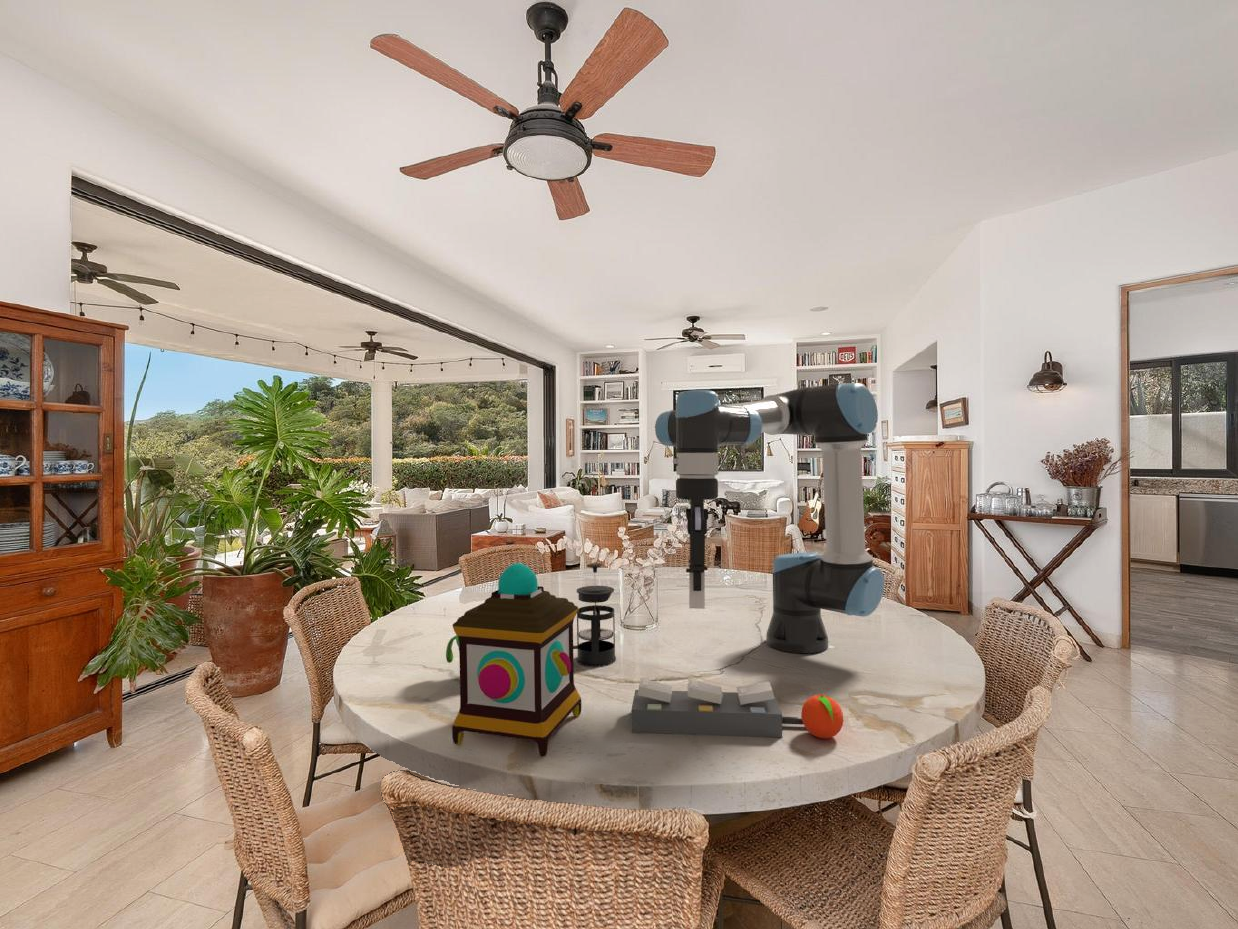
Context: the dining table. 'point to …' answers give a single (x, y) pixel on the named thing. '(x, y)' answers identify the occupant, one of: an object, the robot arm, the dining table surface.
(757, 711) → the power strip
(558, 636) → the decorative lantern
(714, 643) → the dining table surface
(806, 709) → the clementine
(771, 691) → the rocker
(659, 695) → the rocker
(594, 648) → the french press
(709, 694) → the plate
